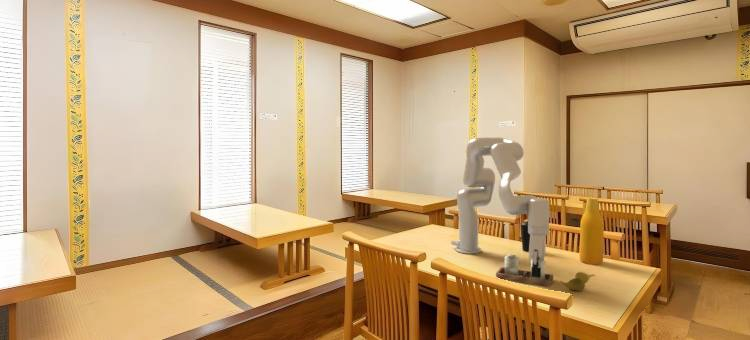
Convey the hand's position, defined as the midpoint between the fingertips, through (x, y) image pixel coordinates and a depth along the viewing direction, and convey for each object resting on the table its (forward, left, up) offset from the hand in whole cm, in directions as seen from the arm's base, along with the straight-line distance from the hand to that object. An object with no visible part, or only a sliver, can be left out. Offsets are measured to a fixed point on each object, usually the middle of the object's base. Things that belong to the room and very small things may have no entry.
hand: (537, 273), depth 152 cm
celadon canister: (0, 0, -3) cm, 3 cm away
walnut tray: (-5, 0, -3) cm, 6 cm away
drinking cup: (-11, +43, -3) cm, 44 cm away
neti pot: (+14, -3, -3) cm, 15 cm away
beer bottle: (+17, +37, -3) cm, 41 cm away
